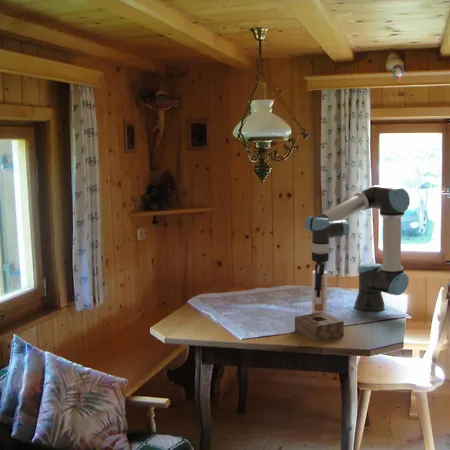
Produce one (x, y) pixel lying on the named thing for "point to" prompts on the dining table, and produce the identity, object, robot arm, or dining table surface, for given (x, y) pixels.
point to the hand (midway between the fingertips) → (319, 302)
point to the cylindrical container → (324, 293)
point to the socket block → (319, 326)
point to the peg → (320, 306)
